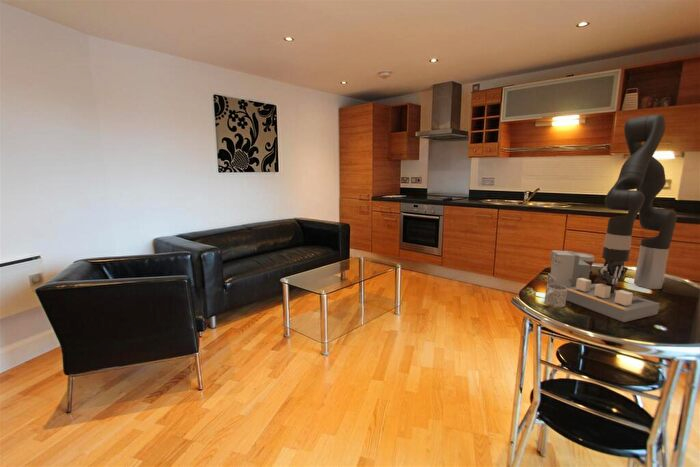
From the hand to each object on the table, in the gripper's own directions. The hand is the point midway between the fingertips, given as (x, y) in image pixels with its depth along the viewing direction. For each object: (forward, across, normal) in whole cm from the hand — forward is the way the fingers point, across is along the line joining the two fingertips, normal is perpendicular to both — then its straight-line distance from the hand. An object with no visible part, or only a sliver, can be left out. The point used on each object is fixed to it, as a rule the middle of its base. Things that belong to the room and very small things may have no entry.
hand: (609, 292), depth 126 cm
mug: (+6, +18, -8) cm, 20 cm away
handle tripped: (+1, +4, 0) cm, 4 cm away
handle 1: (+1, +4, -7) cm, 8 cm away
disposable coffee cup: (+5, -18, -24) cm, 31 cm away
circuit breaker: (+5, -5, -19) cm, 21 cm away
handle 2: (+1, +4, +7) cm, 8 cm away
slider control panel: (+5, 0, 0) cm, 5 cm away
